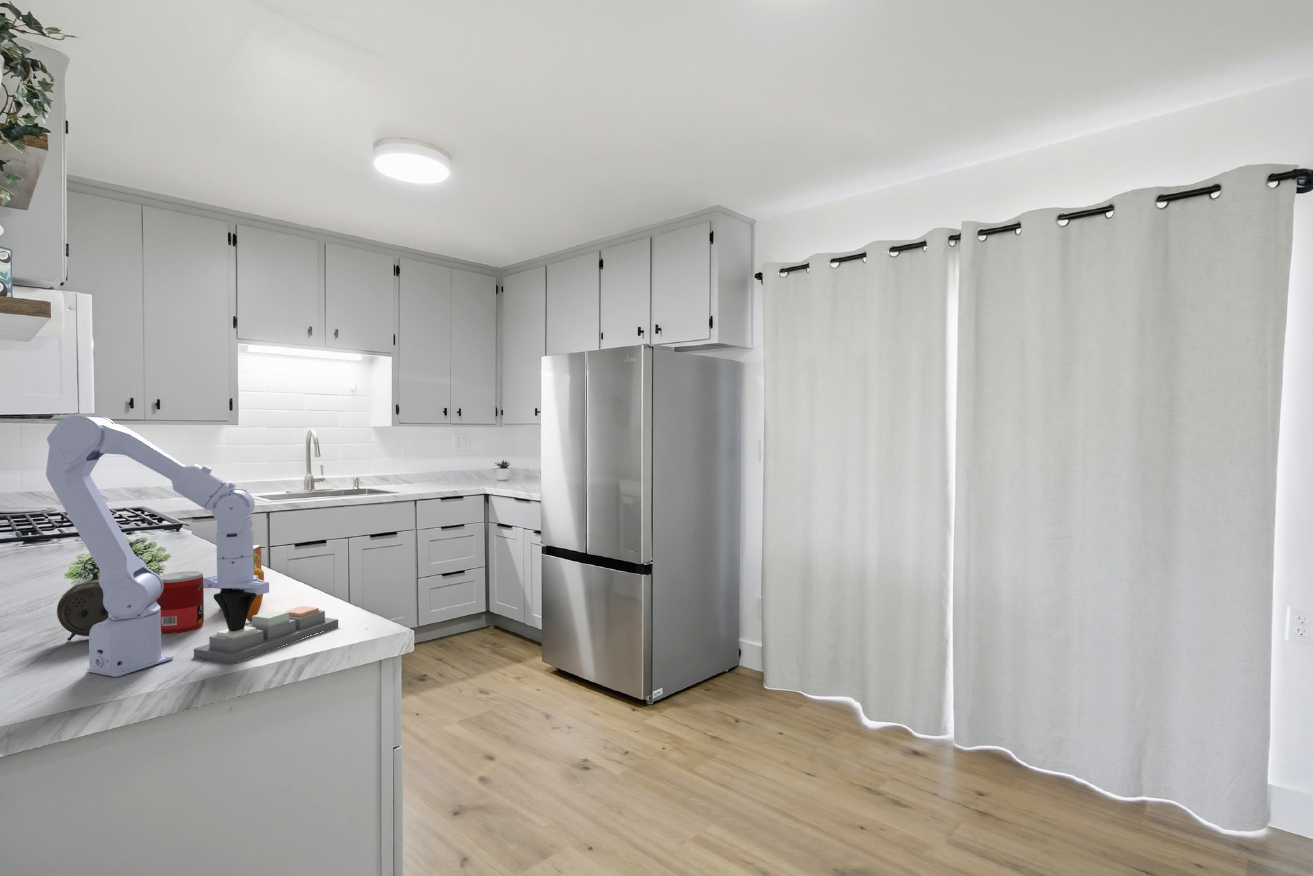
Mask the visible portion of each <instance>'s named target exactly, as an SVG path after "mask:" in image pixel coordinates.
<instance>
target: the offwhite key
mask: <svg viewBox="0 0 1313 876" xmlns="http://www.w3.org/2000/svg"><path fill="white" fill-rule="evenodd" d="M254 632H256V628H255V627H249V626H246V625H245V627H244V629H241V630H238V631H234V632H233V631H229V629H228V628H224V629H222V630H219V631H216V634H217V637H223V638H229V639H235V638H239V637H242V636H245V635H248V634H251V633H254Z"/></svg>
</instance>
